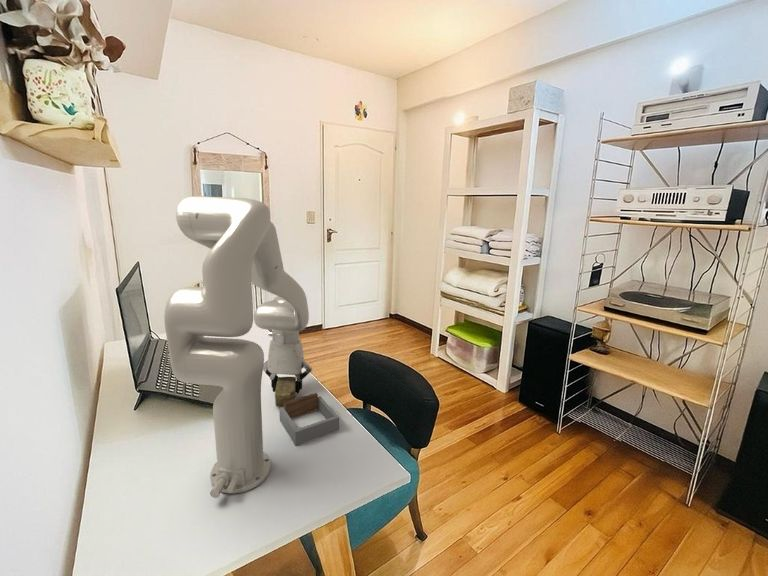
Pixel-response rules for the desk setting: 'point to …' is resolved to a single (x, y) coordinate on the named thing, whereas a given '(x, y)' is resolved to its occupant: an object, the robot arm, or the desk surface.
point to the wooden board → (301, 405)
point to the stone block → (285, 390)
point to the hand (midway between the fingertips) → (286, 389)
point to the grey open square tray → (313, 429)
